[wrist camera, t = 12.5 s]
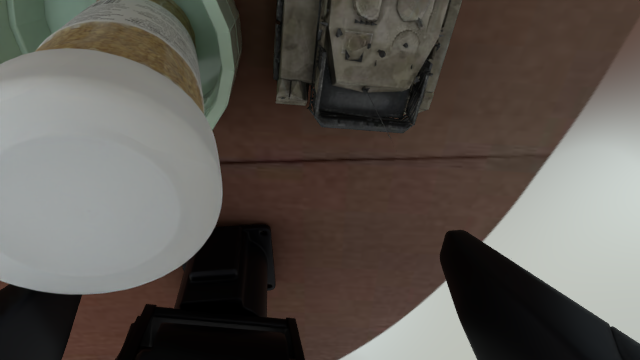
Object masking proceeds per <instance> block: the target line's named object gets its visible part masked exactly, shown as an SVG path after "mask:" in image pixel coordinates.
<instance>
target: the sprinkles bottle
mask: <svg viewBox="0 0 640 360" xmlns="http://www.w3.org/2000/svg"><path fill="white" fill-rule="evenodd" d="M222 196H223V193H222V178H221V170H220V163H219V157H218V151H217V146H216V141H215V138H214V134H213V131H212V129H211V127H210V125H209V123H208V121H207V119H206V117H205V116H204V101H203V93H202V86H201V79H200V72H199V66H198V59H197V54H196V44H195V33H194V30H193V28H192V26H191V24H190V21H189V19H188V17H187V16H186V14H185V13H184V11H183V10H182V9H181V8H180V7H179V6H178V5H177V4H176V3H175V2H174V1H173V0H97V1H96V2H95V3H93V4H91V5H90V6H89V7H87V8H86V9H85V10H83V11H82V12H81V13H79V14H78V15H77V16H75V17H74V18H73V19H72V20H70V21H69V22H68V23H66V24H65V25H64V26H63V27H61V28H60V29H59V30H57V31H56V32H54V33H53V34H52V35H50V36H49V37H48V38H46V39H45V40H44V41H43V42H42V43H41V44H40V45H39V47H38V48H37V49H36V51H35V52H32V53H28V54H24V55H21V56H18V57H16V58H13V59H11V60H8V61H6V62H4V63H2V64H0V281H3V282H6V283H9V284H12V285H15V286H19V287H23V288H27V289H32V290H36V291H42V292H49V293H57V294H70V295H71V294H99V293H108V292H114V291H120V290H125V289H129V288H133V287H137V286H140V285H143V284H145V283H148V282H151V281H154V280H156V279H158V278H160V277H163V276H164V275H166V274H168V273H170V272H172V271H173V270H175V269H177V268H178V267H180V266H181V265H183V264H184V263H185V262H187V261H188V260H189V259H190V258H191V257H193V256H194V255H195V254H196V253H197V252H198V251H199V250H200V249H201V247H202V246H203V245H204V243H205V242H206V241H207V239H208V238H209V236H210V235H211V233H212V231H213V229H214V228H215V226H216V223H217V220H218V217H219V214H220V210H221V205H222Z"/></svg>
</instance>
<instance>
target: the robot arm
mask: <svg viewBox="0 0 640 360" xmlns="http://www.w3.org/2000/svg"><path fill="white" fill-rule="evenodd" d="M261 231H266V232H261ZM440 262H441V265H442V269H443V272H444V275H445V278H446V281H447V284H448V287H449V290H450V293H451V296H452V299H453V302H454V305H455V308H456V311H457V314H458V317H459V319H460V322H461V324H462V326H463V329H464V331H465V333H466V335H467V338H468V340H469V342H470V344H471V347H472V349H473V351H474V353H475V355H476V358H477V360H640V344H639V343H638V342H636V341H635V340H633V339H631V338H630V337H628V336H627V335H625V334H624V333H622V332H621V331H619V330H618V329H616V328H615V327H610V326H609V324H608V323H607V322H605V321H604V320H602V319H600V318H599V317H597V316H596V315H594V314H593V313H591V312H590V311H588V310H587V309H585V308H583V307H582V306H580V305H579V304H577V303H576V302H574V301H573V300H571V299H570V298H568V297H567V296H565V295H563V294H562V293H560V292H559V291H557V290H556V289H554V288H553V287H551V286H550V285H548V284H546V283H545V282H543V281H542V280H540V279H539V278H537V277H536V276H534V275H533V274H531V273H530V272H528V271H526V270H525V269H523V268H522V267H520V266H519V265H517V264H515V263H514V262H513V261H511V260H509V259H508V258H506V257H505V256H503V255H501V254H500V253H499V252H497V251H496V250H494V249H492V248H491V247H489V246H488V245H486V244H485V243H483V242H482V241H480V240H479V239H477V238H476V237H474V236H472V235H471V234H469V233H468V232H466V231H464V230H453V231H448V232H447V233H446V235H445V238H444V242H443V245H442V249H441V252H440ZM182 266H183V270H184V275H183V279H182V282H181V286H180V289H179V293H178V297H177V300H176V304H175V307H174V308H164V307H156V305H151V304H146V305H145V308H144V310H143V312H142V314H141V316H138V317H137V319H136V321H135V322H134V323H132V324H131V326H130V329H129V332H128V334H127V337H126V339H125V342H124V344H123V347H122V349H121V351H120V353H119V355H118V356H117V358H116V359H115V360H305V358H304V354H303V349H302V345H301V341H300V337H299V332H298V328H297V324H296V319H295V318H286V319H279V318H268V317H267V291H268V290H272V289H274V288H275V273H274V261H273V250H272V239H271V229H270V227H269V226H268V225H265V224H261V225H245V226H230V227H215V228H214V229H213V231H212V233H211V235H210V236H209V238H208V239H207V241H206V242H205V243H204V245H203V246H202V247H201V249H200V250H199V251H198V252H197V253H196V254H195V255H194V256H193V257H191V258H190V259H189V260H188V261H187V262H185V263H184V264H183V265H182ZM81 296H82V294H71V295H70V294H57V293H49V292H42V291H36V290H32V289H27V288H23V287H19V286H15V285H12V284H9V285H8V286H6V287H5V288H3V289H2V290H0V360H61V359H62V357H63V354H64V351H65V348H66V345H67V342H68V339H69V335H70V332H71V329H72V326H73V322H74V319H75V316H76V312H77V309H78V306H79V303H80V299H81Z"/></svg>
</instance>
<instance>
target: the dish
mask: <svg viewBox="0 0 640 360" xmlns="http://www.w3.org/2000/svg"><path fill="white" fill-rule="evenodd" d="M96 1H97V0H0V64H2V63H4V62H6V61H8V60H11V59H13V58H16V57H18V56H21V55H24V54H28V53H32V52H35V51H36V49H37V48H38V47H39V45H40V44H41V43H42V42H43V41H44V40H45V39H46V38H48V37H49V36H50V35H52V34H53V33H54V32H56V31H57V30H59V29H60V28H61V27H63V26H64V25H65V24H66V23H68V22H69V21H70V20H72V19H73V18H74V17H75V16H77V15H78V14H79V13H81V12H82V11H83V10H85V9H86V8H87V7H89V6H90V5H91V4H93V3H95V2H96ZM173 1H174V2H175V3H176V4H177V5H178V6H179V7H180V8H181V9H182V10H183V11H184V13H185V14H186V16H187V17H188V19H189V21H190V24H191V26H192V28H193V30H194V33H195V44H196V54H197V59H198V66H199V72H200V79H201V86H202V93H203V101H204V116H205V117H206V119H207V121H208V123H209V125H210V127H211V129H212V130H213V128H214V127H215V125H216V124H217V122H218V120H219V119H220V117H221V116H222V114H223V112H224V111H225V109H226V108H227V105H228V103H229V99H230V96H231V93H232V89H233V86H234V82H235V79H236V75H237V71H238V67H239V62H240V57H241V52H242V36H241V26H240V17H239V12H238V10H237V7H236V5H235V2H234V0H173Z"/></svg>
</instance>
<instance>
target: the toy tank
mask: <svg viewBox="0 0 640 360" xmlns="http://www.w3.org/2000/svg"><path fill="white" fill-rule="evenodd" d="M461 3H462V0H277V6H278V7H277V13H276V22H277V20H278V21H280V25H276V26H275V37H276V42H275V45H274V68H273V74H274V78H273V79H274V80H277V99H276V103H279V104H291V105H303V106H305V105H306V103H307V100H308V89H309V85H311V95H310V105H309V107H308V108H307V109H309V110H310V112H311V113H312V114H313V115H314V118H315V119H316V120H317V122H318V123H319V124H320V126H321V127H328V128H341V129H354V130H367V131H380V132H387V133H388V132H394V133H404V132H405V131H407V130H408V129H409V128H410V127H412V126H413V125H414V124H415V121H416V118H417V115H418V113H420V112H422V111H425V110H428V109H429V107H430V104H431V101H432V98H433V95H434V93H431V92H434V90H435V87H436V84H437V81H438V77H439V74H440V71H441V68H442V64H443V61H444V58H445V55H446V51H447V48H448V45H449V42H450V38H451V35H452V32H453V29H454V25H455V22H456V19H457V16H458V12H459V9H460V6H461ZM313 86H314V87H315V88H314V89H313ZM312 90H313V91H314V93H313V96H314V97H313V98H312ZM311 99H313V101H311ZM311 103H312V104H313V111H314V113H313V112H312V110H311V109H310V108H312V107H311ZM403 114H406V115H404V116H403ZM406 116H408V117H406ZM389 117H392V118H389ZM405 117H406V118H405ZM394 118H399V119H394ZM403 118H404V119H403ZM402 119H403V120H402ZM407 119H408V120H407ZM409 121H410V122H409ZM411 124H413V125H411ZM388 135H389V134H388ZM389 137H390V136H389Z"/></svg>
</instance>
